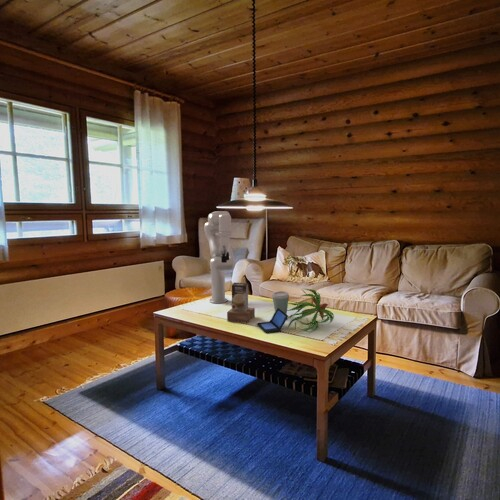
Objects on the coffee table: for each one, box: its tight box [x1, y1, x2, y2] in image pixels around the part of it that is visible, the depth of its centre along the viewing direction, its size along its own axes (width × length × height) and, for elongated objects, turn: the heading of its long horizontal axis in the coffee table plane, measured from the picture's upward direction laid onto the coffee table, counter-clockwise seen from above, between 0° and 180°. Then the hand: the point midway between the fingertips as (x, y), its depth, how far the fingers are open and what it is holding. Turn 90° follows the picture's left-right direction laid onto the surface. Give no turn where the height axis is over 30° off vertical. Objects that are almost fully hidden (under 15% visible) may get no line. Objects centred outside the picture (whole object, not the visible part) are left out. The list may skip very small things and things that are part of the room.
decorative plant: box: [286, 288, 335, 333], centre depth 205 cm, size 26×25×30 cm
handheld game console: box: [256, 308, 289, 334], centre depth 205 cm, size 16×13×9 cm
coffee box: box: [231, 282, 249, 312], centre depth 220 cm, size 9×6×16 cm
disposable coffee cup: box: [271, 290, 290, 315], centre depth 225 cm, size 11×11×15 cm
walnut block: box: [226, 306, 256, 324], centre depth 222 cm, size 13×13×6 cm
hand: (225, 261), depth 231 cm, fingers open, 9 cm apart
